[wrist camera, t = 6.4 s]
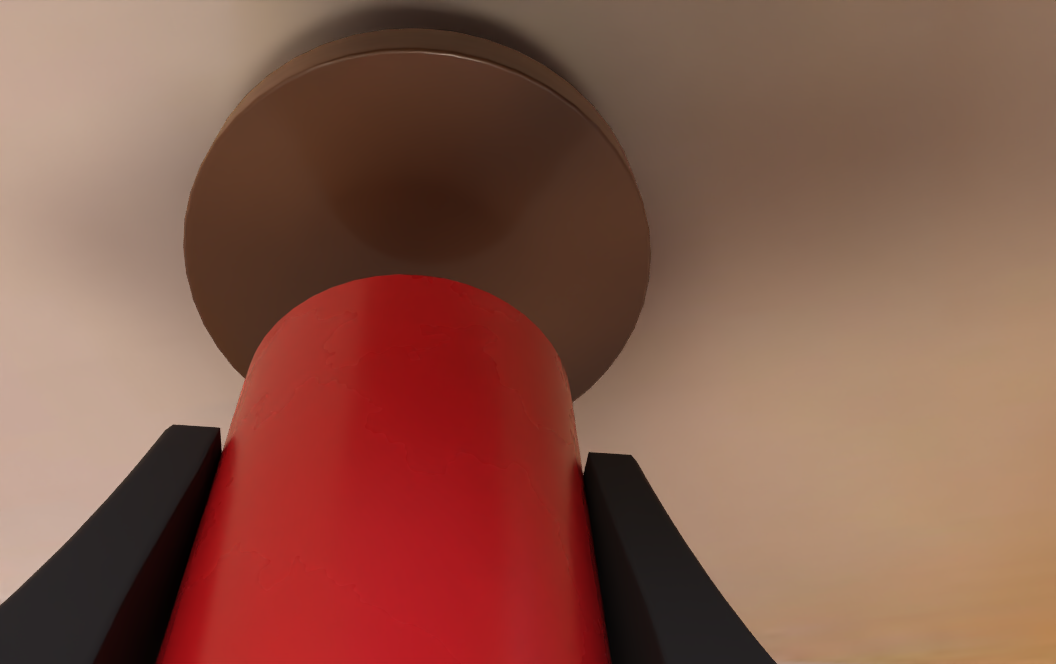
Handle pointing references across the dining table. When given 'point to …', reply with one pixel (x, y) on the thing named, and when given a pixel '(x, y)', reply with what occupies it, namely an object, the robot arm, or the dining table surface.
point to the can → (396, 493)
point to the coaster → (420, 193)
